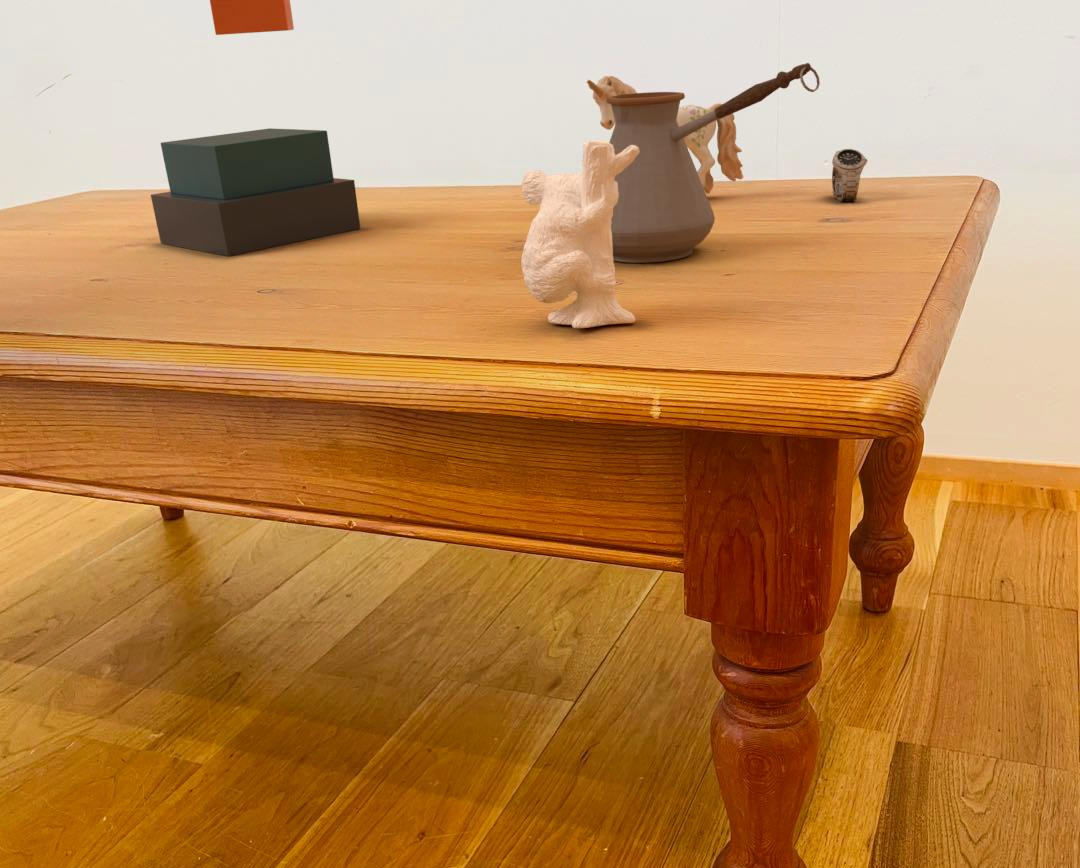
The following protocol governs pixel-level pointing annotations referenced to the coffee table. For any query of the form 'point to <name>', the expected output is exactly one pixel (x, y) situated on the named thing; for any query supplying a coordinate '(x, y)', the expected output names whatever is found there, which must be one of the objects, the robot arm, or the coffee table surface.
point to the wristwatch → (847, 174)
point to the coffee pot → (668, 172)
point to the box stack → (252, 191)
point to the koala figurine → (576, 238)
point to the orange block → (251, 16)
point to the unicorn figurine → (693, 141)
